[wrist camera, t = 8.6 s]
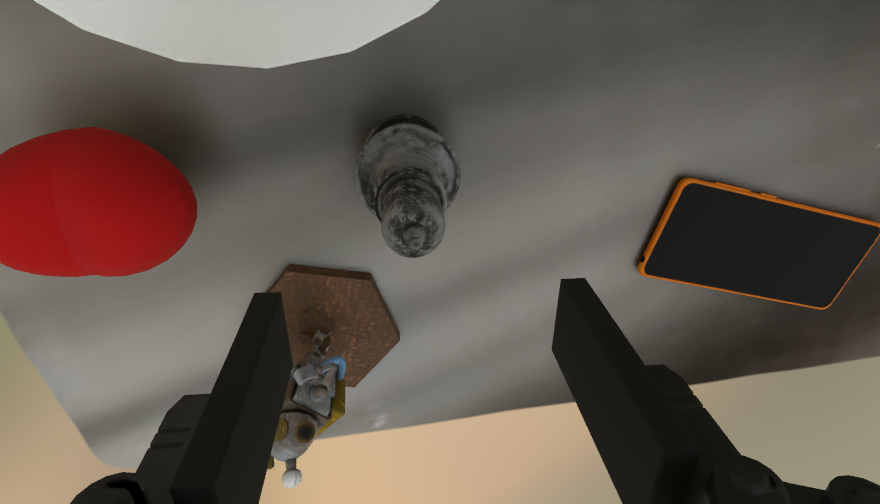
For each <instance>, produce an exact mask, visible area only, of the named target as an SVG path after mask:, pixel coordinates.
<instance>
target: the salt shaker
mask: <svg viewBox="0 0 880 504" xmlns="http://www.w3.org/2000/svg"><path fill="white" fill-rule="evenodd" d="M460 175H461V174H460V167H459V161H458V159H457V156H456V154H455V152H454V150H453V148H452V147H451V145H450V144H449V143H448V142H447V141H446V139H445V138H444V137H443V136H442V135H441V133H440V132H439V131H438V130H437V129H436V127H435V126H433V125H432V124H431V123H429V122H428V121H426V120H424V119H421V118H419V117H416V116H408V115H401V116H395V117H391V118H389V119H387V120H385V121H383V122H381V123H380V124H378V125H377V126H376V127H375V128H374V129H373V130H372V131H371V133H370V134H369V136H368V137H367V139H366V141H365V145H364V146H363V148H362V150H361V151H360V153H359V155H358V158H357V161H356V164H355V174H354V181H355V185H356V189H357V193H358V195H359V197H360V199H361V200H362V202H363V204H364V205H365V206H366V207H367V208H368V209H369V210H370V211H371V212H372V213H373V214H374V215H375V216H377V217H378V219H379V221H380V223H381V224H382V234H383V237H384V239H385V241H386V243H387V245H388V246H389V247H390V248H391V249H392V250H393V251H394V252H396V253H397V254H399V255H401V256H405V257H412V258H416V257H421V256H424V255H427V254H429V253H431V252H432V251H433V250H434V249H436V248H437V246H438V245H439V244H440V242H441V240H442V238H443V235H444V231H445V220H444V214H445V212H446V209H447V208H448V207H449V205H450V204H451V203H452V201H453V200H454V198H455V196H456V193H457V191H458V189H459V183H460Z"/></svg>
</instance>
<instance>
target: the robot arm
mask: <svg viewBox="0 0 880 504" xmlns="http://www.w3.org/2000/svg"><path fill="white" fill-rule="evenodd" d="M552 351H553V354H554V356H555V358H556V360H557V362H558V364H559V367H560V369H561V371H562V373H563V375H564V378H565V380H566V382H567V384H568V386H569V388H570V391H571V393H572V395H573V397H574V399H575V401H576V403H577V406H578V408H579V410H580V412H581V414H582V417H583V419H584V421H585V423H586V425H587V427H588V429H589V432H590V434H591V436H592V438H593V440H594V443H595V445H596V447H597V449H598V451H599V453H600V455H601V458H602V460H603V462H604V464H605V466H606V468H607V471H608V473H609V475H610V477H611V480H612V482H613V484H614V486H615V488H616V490H617V492H618V495H619V497H620V499H621V501H622V503H623V504H880V486H879V485H877V484H875V483H873V482H870V481H868V480H866V479H864V478H859V477H854V476H850V475H849V476H837V477H836V478H834V479H833V480H832V481H830V483H829V485H828V487H827V489H826V490H821V489H816V488H811V487H806V486H801V485H795V484H791V483H787V482H783V481H782V480H781V479H780V478H779V477H778V476H777V475H776V474H775V473H774V472H773V471H772V470H771V469H770V468H768V467H767V466H765V465H763V464H762V463H760V462H759V461H757V460H754V459H751V458H748V457H746V456H742V455H741V454H740V453H739V452H738V451H737V449H736V448H735V447H734V445H733V444H732V443H731V441H730V440H729V439H728V437H727V436H726V435H725V433H724V432H723V431H722V430H721V428H720V427H719V426H718V424H717V423H716V422H715V420H714V419H713V418H712V416H711V415H710V414H709V413H708V411H707V410H706V409H705V408H703V405H702V403H701V402H700V401H699V400H698V398H697V397H696V396H694V395H693V392H692V390H691V389H690V388H689V386H688V385H687V384H686V382H685V381H684V380H683V378H682V377H681V376H679V375H678V374H676V373H675V372H674V371H672V370H671V369H670V368H668V367H667V366H665V365H664V364H663V365H647V366H645V364H644V363H643V362H642V360H641V359H640V357H639V356H638V354H637V353H636V351H635V350H634V349H633V347H632V346H631V344H630V343H629V341H628V340H627V338H626V337H625V336H624V334H623V333H622V331H621V330H620V328H619V327H618V325H617V324H616V322H615V321H614V320H613V318H612V317H611V315H610V314H609V312H608V311H607V309H606V308H605V307H604V305H603V304H602V302H601V301H600V299H599V298H598V296H597V295H596V294H595V292H594V291H593V289H592V288H591V286H590V285H589V283H588V282H587V280H586V279H585V278H575V279H561V283H560V291H559V298H558V306H557V313H556V321H555V328H554V336H553V343H552ZM292 367H293V361H292V355H291V349H290V343H289V337H288V331H287V325H286V319H285V313H284V307H283V301H282V295H281V292H269V293H254V296H253V298H252V300H251V303H250V305H249V307H248V310H247V312H246V314H245V316H244V319H243V321H242V323H241V326H240V328H239V330H238V333H237V335H236V337H235V339H234V342H233V344H232V346H231V349H230V351H229V353H228V355H227V358H226V360H225V362H224V365H223V367H222V369H221V372H220V374H219V376H218V378H217V381H216V383H215V385H214V388H213V390H212V392H211V394H198V395H184V396H183V397H182V398H181V399H180V400H179V401H178V402H177V403H176V404H175V405H174V406H173V407H172V408H171V409H170V410H169V411H168V412H167V414H166V415H165V417H164V419H163V421H162V423H161V425H160V427H159V429H158V433H156V435H155V437H154V439H153V440H152V442H151V444H150V448H148V450H147V452H146V454H145V456H144V458H143V460H142V462H141V464H140V465H139V467H138V469H137V471H136V473H126V472H122V473H118V474H114V475H110V476H106V477H104V478H102V479H100V480H98V481H96V482H94V483H92V484H91V485H89V486H88V487H87V488H85V489H84V490H83V491H82V492H80V493H79V494H78V495H77V496H76V497H75V498H74V499H73V501H72V502H71V503H70V504H259V499H260V495H261V491H262V487H263V483H264V479H265V475H266V471H267V467H268V463H269V459H270V455H271V451H272V447H273V443H274V439H275V435H276V431H277V427H278V423H279V419H280V415H281V411H282V407H283V403H284V399H285V395H286V391H287V387H288V383H289V379H290V375H291V371H292Z"/></svg>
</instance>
